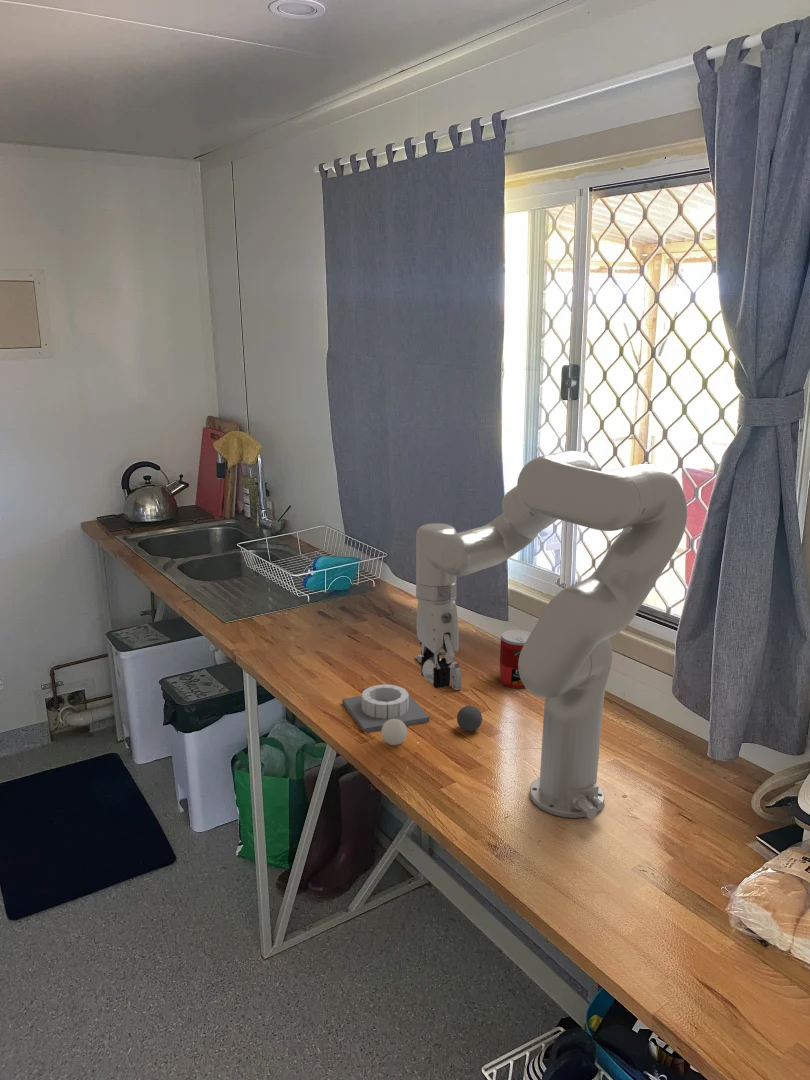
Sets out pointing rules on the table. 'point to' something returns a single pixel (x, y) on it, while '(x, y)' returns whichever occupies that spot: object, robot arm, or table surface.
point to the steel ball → (429, 669)
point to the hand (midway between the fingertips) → (435, 679)
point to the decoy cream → (394, 731)
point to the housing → (384, 707)
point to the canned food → (511, 657)
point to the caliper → (451, 674)
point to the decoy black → (469, 718)
